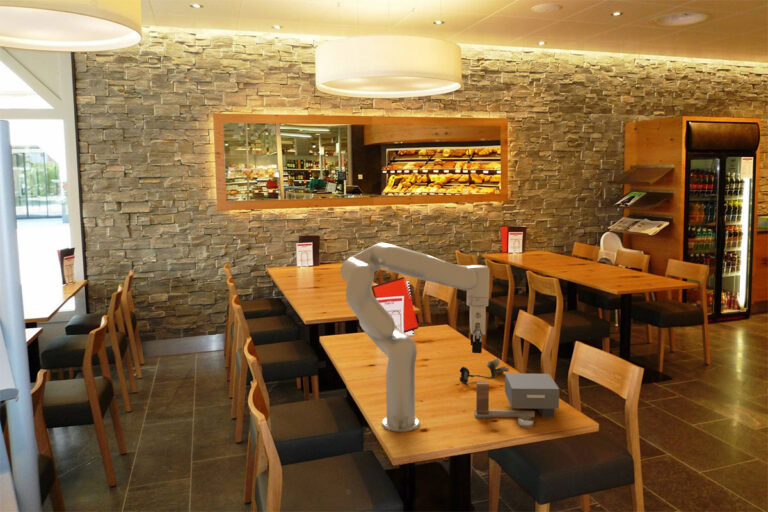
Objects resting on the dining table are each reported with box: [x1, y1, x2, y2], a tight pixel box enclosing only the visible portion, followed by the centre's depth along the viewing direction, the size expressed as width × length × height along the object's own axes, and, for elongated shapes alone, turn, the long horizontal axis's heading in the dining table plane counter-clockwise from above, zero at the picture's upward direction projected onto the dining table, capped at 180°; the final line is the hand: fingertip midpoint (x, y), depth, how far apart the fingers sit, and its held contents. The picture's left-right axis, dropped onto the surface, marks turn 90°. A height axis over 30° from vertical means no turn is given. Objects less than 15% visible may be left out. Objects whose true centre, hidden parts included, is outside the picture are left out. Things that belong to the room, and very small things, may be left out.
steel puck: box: [517, 417, 534, 429], centre depth 200 cm, size 5×5×2 cm
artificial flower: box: [459, 357, 510, 384], centre depth 247 cm, size 9×22×10 cm, turn 114°
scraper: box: [474, 381, 536, 419], centre depth 207 cm, size 4×20×12 cm, turn 87°
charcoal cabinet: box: [504, 372, 560, 418], centre depth 211 cm, size 17×16×11 cm
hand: (475, 348), depth 207 cm, fingers open, 9 cm apart
